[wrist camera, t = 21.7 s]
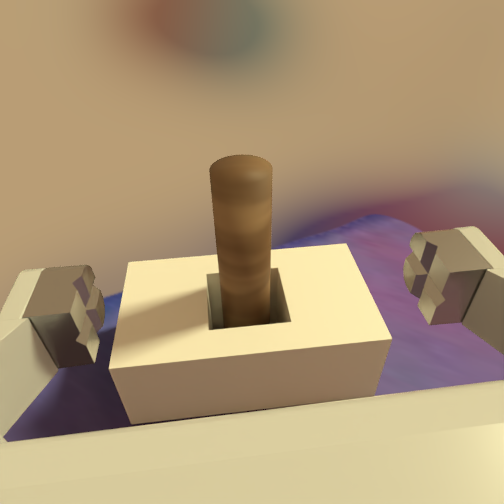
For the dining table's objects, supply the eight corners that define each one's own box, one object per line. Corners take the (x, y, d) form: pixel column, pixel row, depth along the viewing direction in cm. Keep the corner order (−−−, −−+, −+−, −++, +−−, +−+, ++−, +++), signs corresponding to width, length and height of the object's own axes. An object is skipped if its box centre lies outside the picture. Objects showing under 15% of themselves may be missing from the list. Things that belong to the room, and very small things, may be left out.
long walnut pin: (251, 376, 28) (245, 191, 19) (217, 354, 30) (196, 172, 20) (277, 347, 30) (284, 165, 21) (244, 327, 32) (236, 149, 22)
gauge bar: (374, 396, 27) (392, 338, 23) (131, 424, 26) (108, 368, 22) (336, 299, 34) (346, 243, 30) (144, 318, 33) (128, 262, 29)
